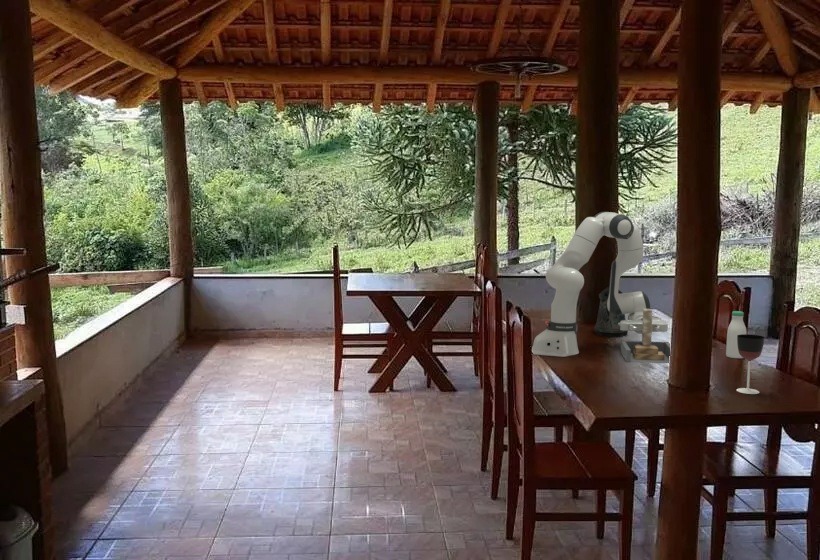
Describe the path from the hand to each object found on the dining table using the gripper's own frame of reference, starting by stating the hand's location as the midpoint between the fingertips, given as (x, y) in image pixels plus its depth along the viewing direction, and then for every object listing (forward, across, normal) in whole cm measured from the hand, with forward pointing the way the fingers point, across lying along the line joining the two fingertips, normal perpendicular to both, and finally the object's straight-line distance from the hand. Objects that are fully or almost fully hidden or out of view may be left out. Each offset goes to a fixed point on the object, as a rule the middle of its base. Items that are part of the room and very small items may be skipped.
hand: (645, 329), depth 302 cm
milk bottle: (-7, +39, +12) cm, 42 cm away
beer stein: (-49, -9, +13) cm, 51 cm away
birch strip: (+2, 0, +11) cm, 11 cm away
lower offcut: (+8, 0, +11) cm, 14 cm away
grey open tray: (+7, 0, +12) cm, 14 cm away
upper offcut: (+8, -1, +8) cm, 12 cm away
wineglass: (+49, +28, +13) cm, 58 cm away
